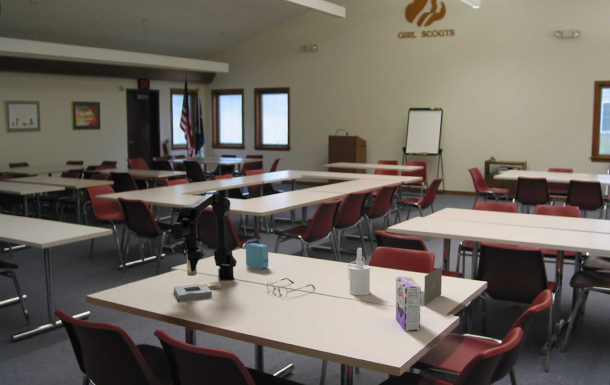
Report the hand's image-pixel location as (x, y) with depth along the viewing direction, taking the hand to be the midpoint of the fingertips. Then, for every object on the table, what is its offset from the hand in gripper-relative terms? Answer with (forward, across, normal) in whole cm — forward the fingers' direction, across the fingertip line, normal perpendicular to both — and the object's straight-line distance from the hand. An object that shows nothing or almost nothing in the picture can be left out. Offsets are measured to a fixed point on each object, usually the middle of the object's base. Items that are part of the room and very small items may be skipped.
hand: (191, 270), depth 247 cm
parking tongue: (+11, -8, +11) cm, 17 cm away
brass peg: (+2, 0, 0) cm, 2 cm away
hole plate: (+11, 0, 0) cm, 11 cm away
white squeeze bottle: (+11, +26, +68) cm, 74 cm away
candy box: (+11, +69, +66) cm, 96 cm away
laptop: (+12, +44, +88) cm, 99 cm away
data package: (+11, -35, +40) cm, 54 cm away
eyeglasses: (+12, +10, +42) cm, 45 cm away
